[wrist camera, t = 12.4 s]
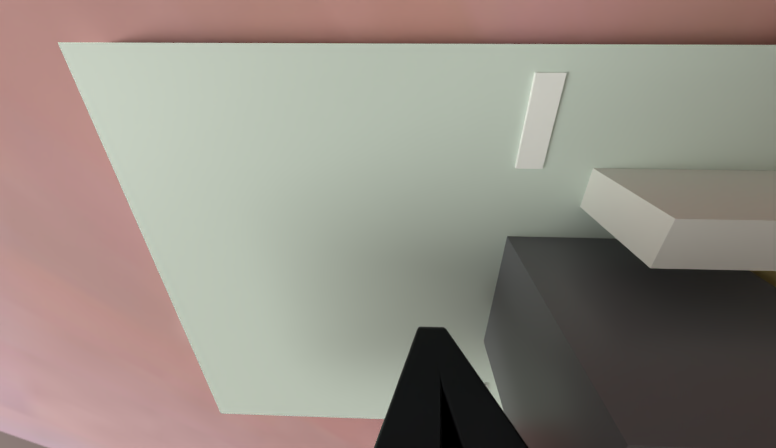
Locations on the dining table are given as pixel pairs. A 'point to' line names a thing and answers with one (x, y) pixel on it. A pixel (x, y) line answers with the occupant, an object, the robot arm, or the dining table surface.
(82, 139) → the dining table surface
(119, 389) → the dining table surface
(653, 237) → the board
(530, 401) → the plug
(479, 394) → the robot arm
